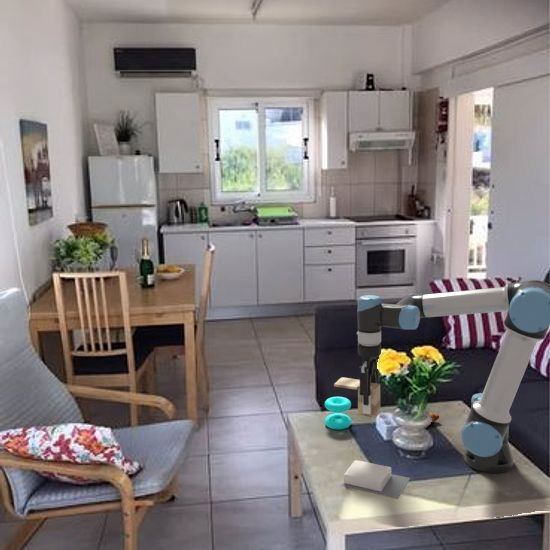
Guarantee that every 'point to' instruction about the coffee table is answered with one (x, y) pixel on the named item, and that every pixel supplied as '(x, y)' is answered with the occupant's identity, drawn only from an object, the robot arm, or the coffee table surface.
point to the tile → (367, 475)
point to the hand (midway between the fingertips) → (369, 410)
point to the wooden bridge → (355, 385)
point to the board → (387, 487)
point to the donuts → (338, 413)
